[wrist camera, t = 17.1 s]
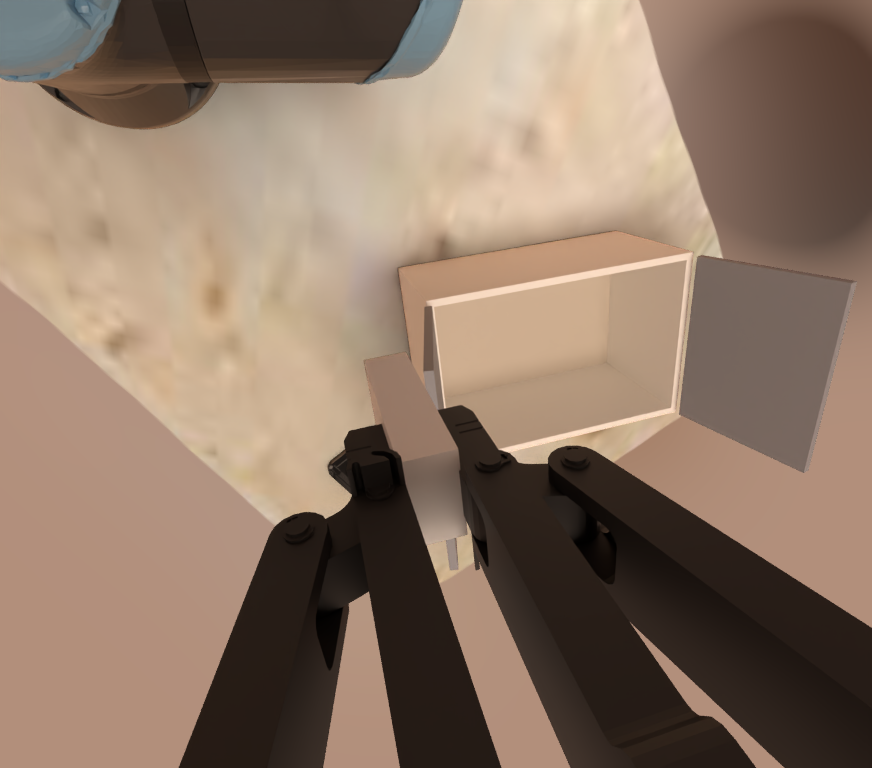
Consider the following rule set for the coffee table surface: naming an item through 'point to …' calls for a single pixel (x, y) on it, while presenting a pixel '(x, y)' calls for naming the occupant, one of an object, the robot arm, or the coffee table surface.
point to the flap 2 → (763, 354)
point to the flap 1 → (435, 396)
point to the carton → (555, 333)
